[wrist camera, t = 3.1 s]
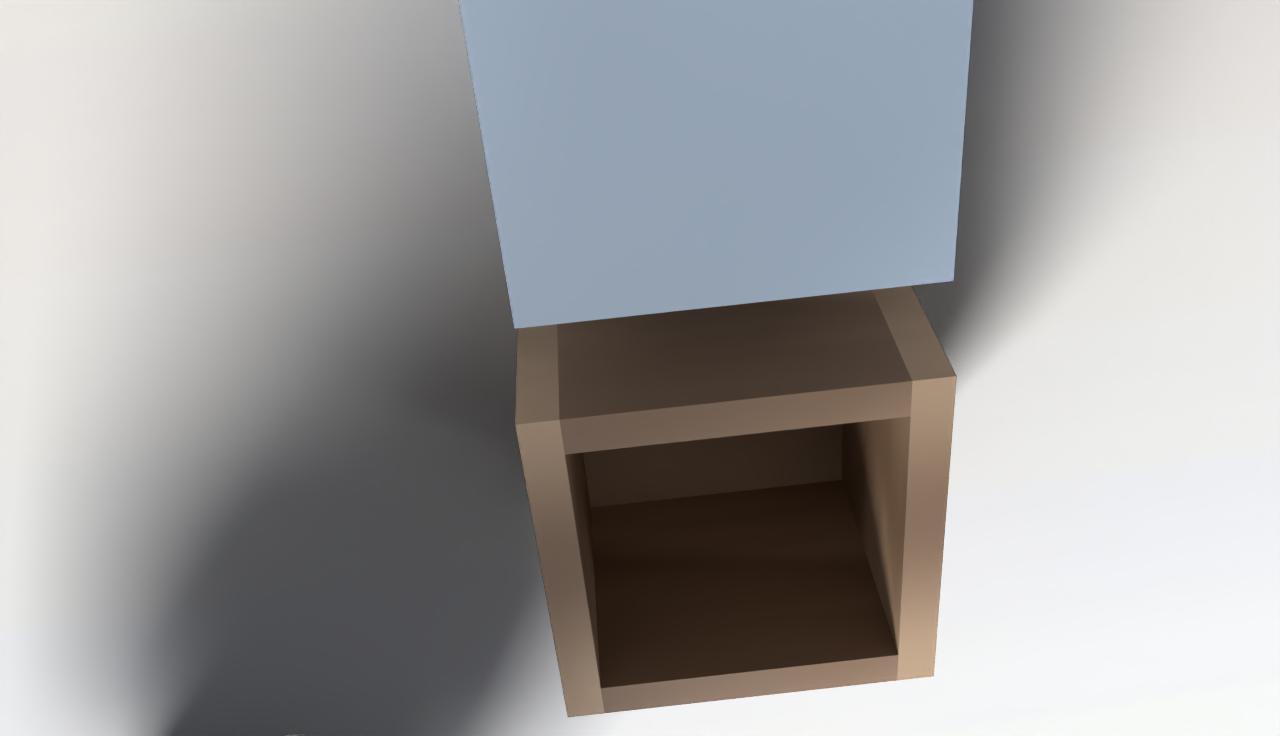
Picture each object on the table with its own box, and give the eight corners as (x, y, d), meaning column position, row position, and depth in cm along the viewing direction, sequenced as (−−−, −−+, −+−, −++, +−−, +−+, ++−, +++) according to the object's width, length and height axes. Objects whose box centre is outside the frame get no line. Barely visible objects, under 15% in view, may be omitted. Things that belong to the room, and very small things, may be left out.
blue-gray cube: (861, 108, 20) (958, 279, 15) (519, 146, 20) (514, 329, 15) (869, -271, 17) (994, -198, 12) (463, -228, 17) (434, -138, 12)
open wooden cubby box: (865, 480, 24) (933, 676, 20) (562, 514, 24) (567, 717, 20) (872, 208, 21) (956, 376, 17) (520, 246, 21) (515, 425, 16)
